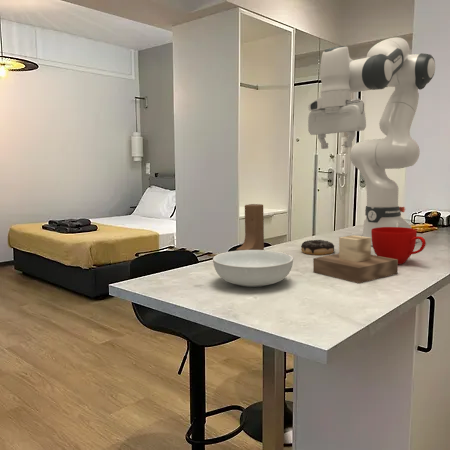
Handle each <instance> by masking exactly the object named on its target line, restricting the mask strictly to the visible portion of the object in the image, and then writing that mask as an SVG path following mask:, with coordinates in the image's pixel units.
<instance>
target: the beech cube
mask: <svg viewBox="0 0 450 450" xmlns="http://www.w3.org/2000/svg"><path fill="white" fill-rule="evenodd" d="M338 238H339V239H338V241H339V243H338V254H339V259H343V260H348V261H353V262H359V261H364V260H369V259H371V255H372V246H371V238H370V237H363V235H362V236H361V235H354V234H353V235H347V236H340V237H338Z"/></svg>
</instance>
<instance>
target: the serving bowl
mask: <svg viewBox="0 0 450 450" xmlns="http://www.w3.org/2000/svg"><path fill="white" fill-rule="evenodd" d="M212 262H213V267H214V270H215V273H217V275H218V276H219V277H220V278H221V279H223V280H224V281H225V282H227V283H230V284H233V285H237V286H240V287H246V288H247V287H248V288H259V287H266V286H269V285H273V284H274V285H275V284H276V283H279V282H281V281H282V280H284V279H286V277H287V276H288V275H289V274H290V272H291V270H292V269H293V264H294V263H293V262H294V257H293V256H292V255H290V254H289V253H285V252H282V251H275V250H268V249H264V250H240V251H237V250H231V251H227V252H223V253H222V252H221V253H218V254H216V255H214V256H213V257H212Z"/></svg>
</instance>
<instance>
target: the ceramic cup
mask: <svg viewBox="0 0 450 450" xmlns="http://www.w3.org/2000/svg"><path fill="white" fill-rule="evenodd" d="M411 228H412V227H411ZM411 228H403V227H379V228H373V229H372V230H371V235H372V245H373V246H372V248H373V251H374V253H375V256H381V257H387V258H392V259H398V265H401V264H405V263H406V261H408V260H409V259H410V257H411V256H412V255H415V254H418V253H420V252H422V251H423V250H424V249H425V247H426V245H427V244H426V238H424V237H422V236H417V235H418V234H417V232H418V231H417V229H415V228H412V229H411ZM416 239H419V241H421V247H420V248H419V249H417V250H415V249H416V248H415V246H416V244H417V242H416Z"/></svg>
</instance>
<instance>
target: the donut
mask: <svg viewBox="0 0 450 450" xmlns="http://www.w3.org/2000/svg"><path fill="white" fill-rule="evenodd" d="M300 250H301V252H302V253H303V254H306V255H313V256H327V255H332V254H333V253H334V252H335V245H334V244H333V242H331V241H328V240H323V239H312V240H310V239H309V240H305V241H303V242H302V243H301V248H300Z"/></svg>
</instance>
